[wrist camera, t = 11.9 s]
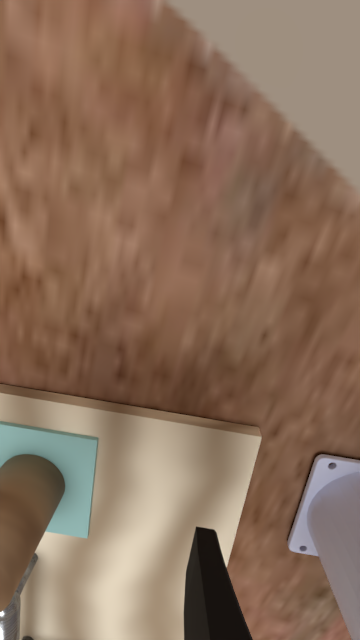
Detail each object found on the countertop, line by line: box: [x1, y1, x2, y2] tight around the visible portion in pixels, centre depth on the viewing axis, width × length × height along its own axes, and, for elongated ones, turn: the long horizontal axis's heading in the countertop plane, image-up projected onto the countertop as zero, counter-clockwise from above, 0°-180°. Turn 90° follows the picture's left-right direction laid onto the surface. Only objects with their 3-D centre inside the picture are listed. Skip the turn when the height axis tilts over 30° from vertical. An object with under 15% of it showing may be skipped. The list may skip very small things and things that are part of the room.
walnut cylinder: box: [0, 454, 65, 612], centre depth 17 cm, size 4×4×6 cm
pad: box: [0, 421, 99, 538], centre depth 20 cm, size 8×8×1 cm
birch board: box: [0, 384, 262, 640], centre depth 22 cm, size 20×26×1 cm
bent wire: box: [0, 553, 38, 640], centre depth 21 cm, size 8×11×4 cm
